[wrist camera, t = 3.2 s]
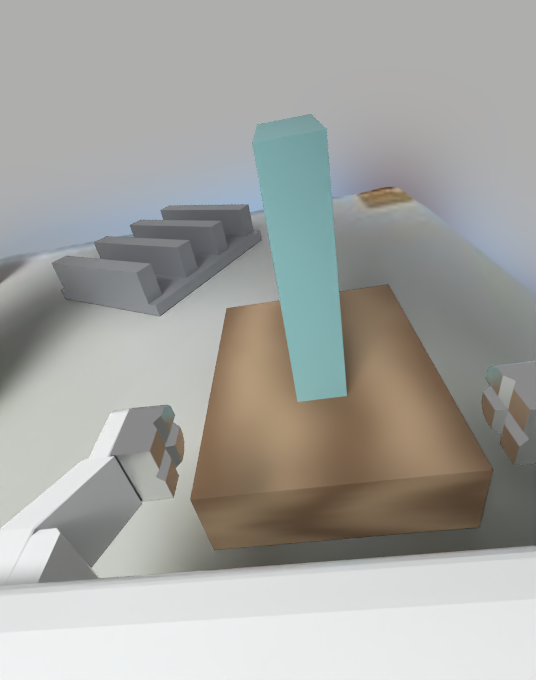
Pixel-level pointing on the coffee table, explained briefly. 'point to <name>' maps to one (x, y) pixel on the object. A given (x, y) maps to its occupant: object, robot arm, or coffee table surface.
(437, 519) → the block
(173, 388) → the coffee table surface
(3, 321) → the coffee table surface
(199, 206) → the slotted rack
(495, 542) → the coffee table surface
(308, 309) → the aqua rubber eraser
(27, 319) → the coffee table surface
